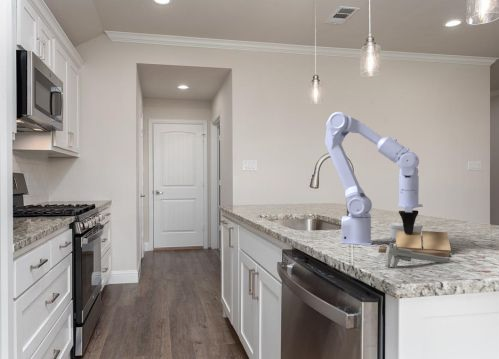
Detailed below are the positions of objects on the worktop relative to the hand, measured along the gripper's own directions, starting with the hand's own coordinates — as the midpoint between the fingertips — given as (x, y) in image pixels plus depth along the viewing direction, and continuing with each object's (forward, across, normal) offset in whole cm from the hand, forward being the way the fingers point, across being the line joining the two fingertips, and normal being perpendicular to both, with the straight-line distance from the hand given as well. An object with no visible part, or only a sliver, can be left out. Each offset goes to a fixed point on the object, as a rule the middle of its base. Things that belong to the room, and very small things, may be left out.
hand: (408, 233), depth 120 cm
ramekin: (+5, +18, +1) cm, 18 cm away
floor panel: (+4, -12, -1) cm, 12 cm away
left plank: (+2, -3, 0) cm, 4 cm away
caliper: (+5, -25, -3) cm, 26 cm away
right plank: (+2, -3, -8) cm, 9 cm away
